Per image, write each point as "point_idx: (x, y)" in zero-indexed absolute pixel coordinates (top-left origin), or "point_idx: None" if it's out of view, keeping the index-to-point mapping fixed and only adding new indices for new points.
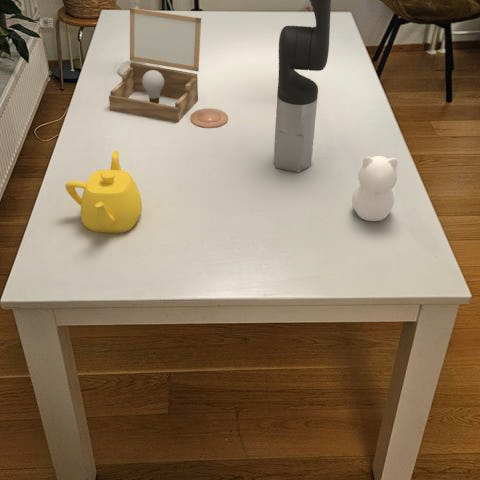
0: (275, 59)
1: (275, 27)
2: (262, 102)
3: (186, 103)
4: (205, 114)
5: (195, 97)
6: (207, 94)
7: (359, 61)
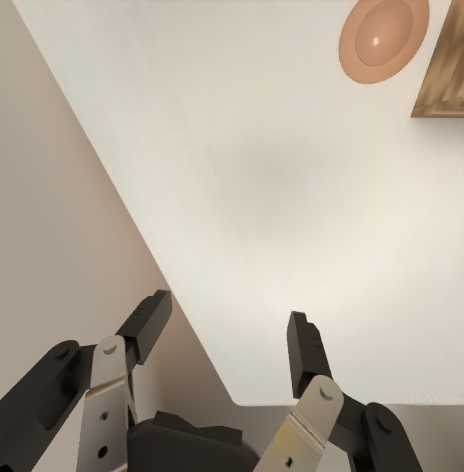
0: (291, 297)
1: None
2: (285, 155)
3: (454, 35)
4: (393, 39)
5: (424, 101)
6: (391, 152)
7: (190, 309)
